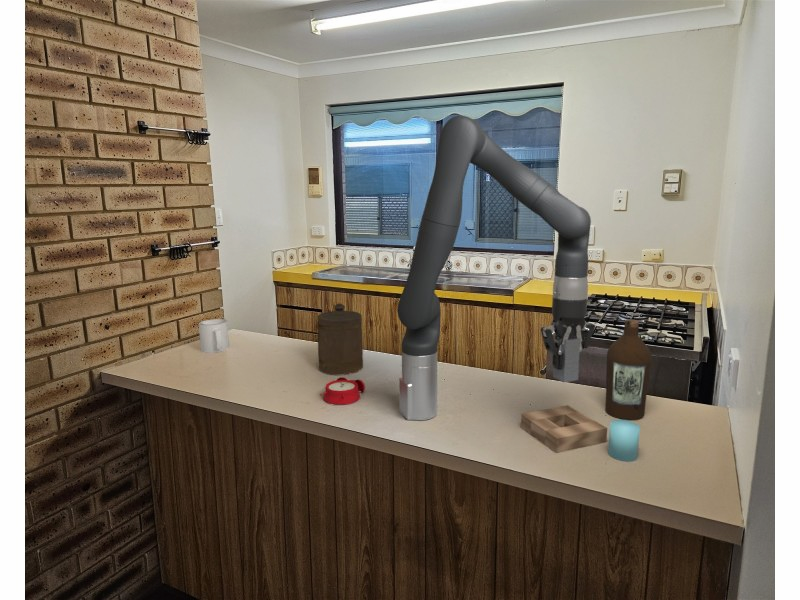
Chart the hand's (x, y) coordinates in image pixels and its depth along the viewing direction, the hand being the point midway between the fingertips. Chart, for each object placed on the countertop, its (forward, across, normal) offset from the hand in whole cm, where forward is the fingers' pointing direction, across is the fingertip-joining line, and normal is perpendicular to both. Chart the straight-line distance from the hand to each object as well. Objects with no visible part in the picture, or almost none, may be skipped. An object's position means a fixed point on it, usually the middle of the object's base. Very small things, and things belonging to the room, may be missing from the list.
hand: (565, 367), depth 119 cm
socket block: (+17, 0, 0) cm, 17 cm away
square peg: (+3, 0, 0) cm, 3 cm away
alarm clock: (+17, -42, +44) cm, 63 cm away
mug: (+17, -76, +106) cm, 132 cm away
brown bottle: (+17, +23, +4) cm, 29 cm away
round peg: (+17, +6, -13) cm, 22 cm away
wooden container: (+17, -37, +68) cm, 79 cm away
